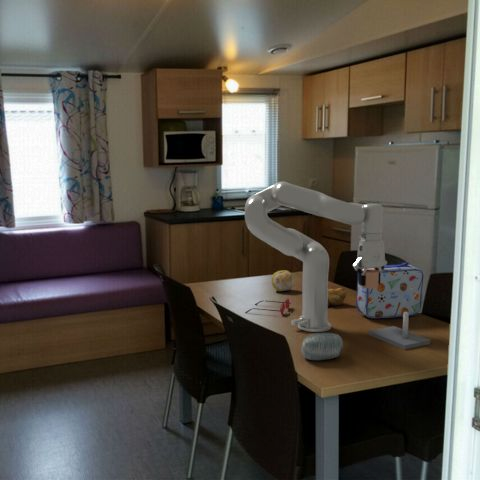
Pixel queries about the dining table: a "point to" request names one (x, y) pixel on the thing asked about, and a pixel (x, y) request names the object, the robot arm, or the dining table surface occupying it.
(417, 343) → the grey peg stand
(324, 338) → the grey yarn ball
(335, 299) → the bread roll
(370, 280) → the bead
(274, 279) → the fruit
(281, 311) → the glasses
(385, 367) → the dining table surface
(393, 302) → the lunch box
